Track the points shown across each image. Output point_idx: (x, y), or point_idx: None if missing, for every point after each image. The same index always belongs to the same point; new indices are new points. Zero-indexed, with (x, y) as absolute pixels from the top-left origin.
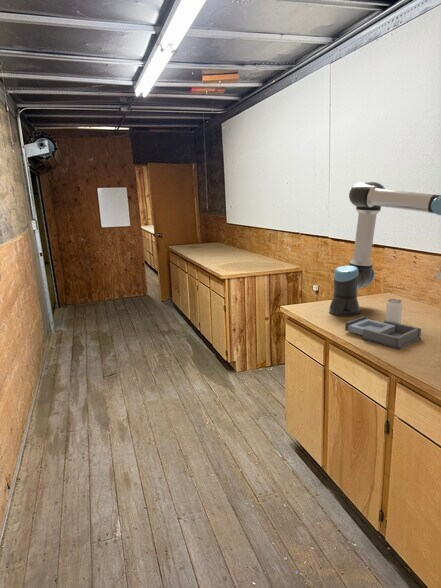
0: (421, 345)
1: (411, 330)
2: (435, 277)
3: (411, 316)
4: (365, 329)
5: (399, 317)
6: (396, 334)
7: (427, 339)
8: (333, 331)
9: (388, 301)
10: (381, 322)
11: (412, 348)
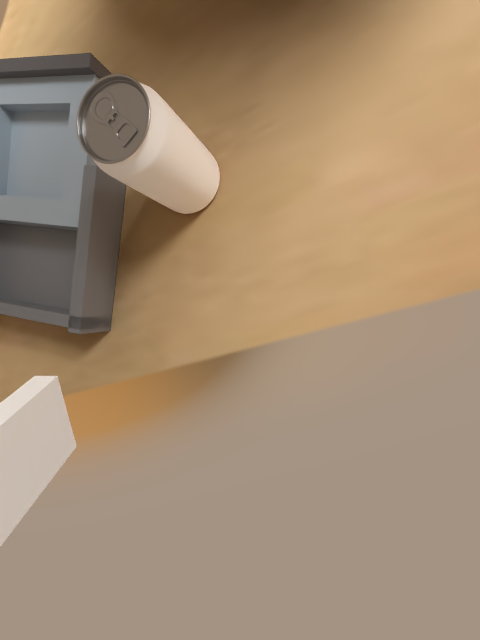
0: (56, 353)
1: (38, 310)
2: (33, 377)
3: (412, 174)
4: None
5: (152, 198)
6: (75, 251)
7: (119, 353)
8: (6, 46)
9: (91, 92)
10: (83, 159)
11: (19, 337)
